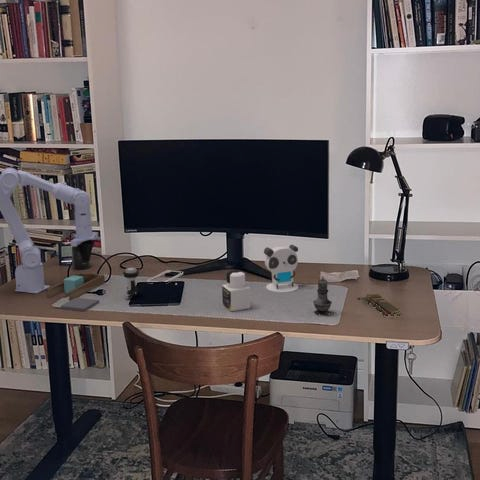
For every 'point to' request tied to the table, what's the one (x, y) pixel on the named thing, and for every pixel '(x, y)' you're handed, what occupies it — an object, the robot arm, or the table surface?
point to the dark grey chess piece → (322, 299)
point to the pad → (79, 304)
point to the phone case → (164, 273)
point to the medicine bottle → (236, 291)
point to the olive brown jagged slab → (381, 304)
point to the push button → (131, 281)
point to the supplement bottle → (78, 260)
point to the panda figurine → (281, 268)
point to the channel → (92, 283)
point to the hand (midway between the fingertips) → (86, 261)
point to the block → (73, 282)
